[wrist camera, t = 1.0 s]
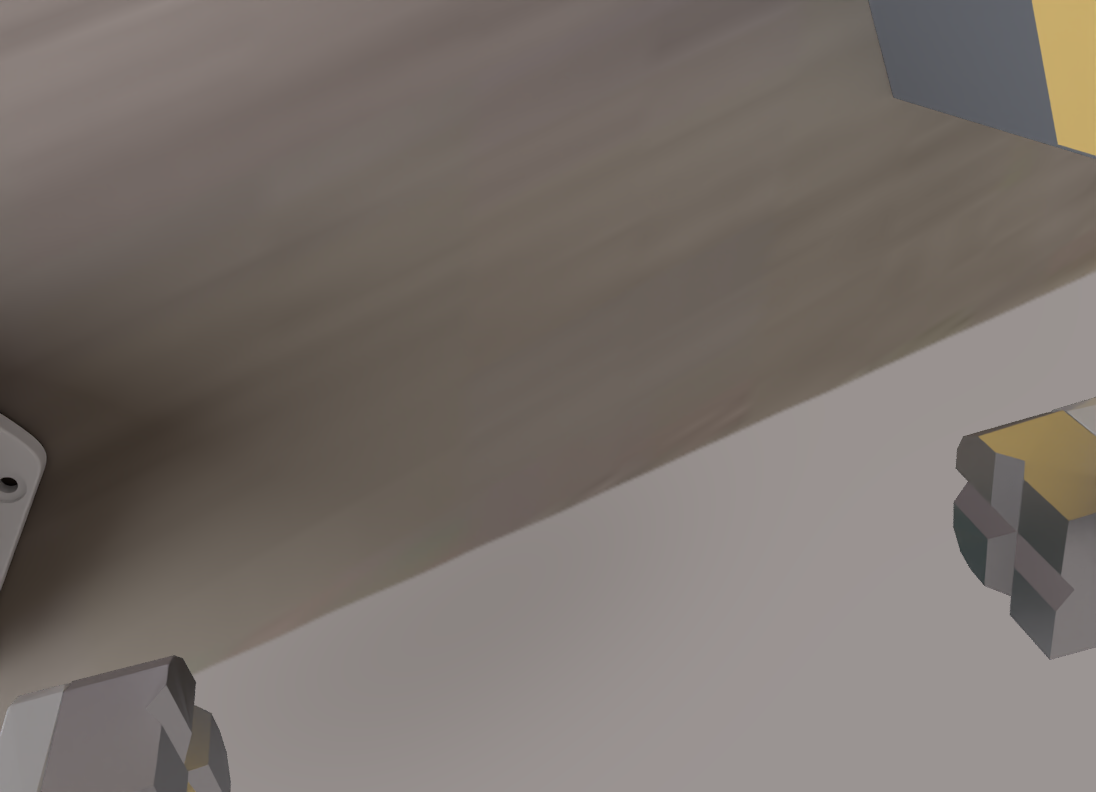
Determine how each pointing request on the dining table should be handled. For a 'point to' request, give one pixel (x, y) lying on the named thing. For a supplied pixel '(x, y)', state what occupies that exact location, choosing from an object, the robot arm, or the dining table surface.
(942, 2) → the podium
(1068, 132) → the yellow bar
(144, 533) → the dining table surface
